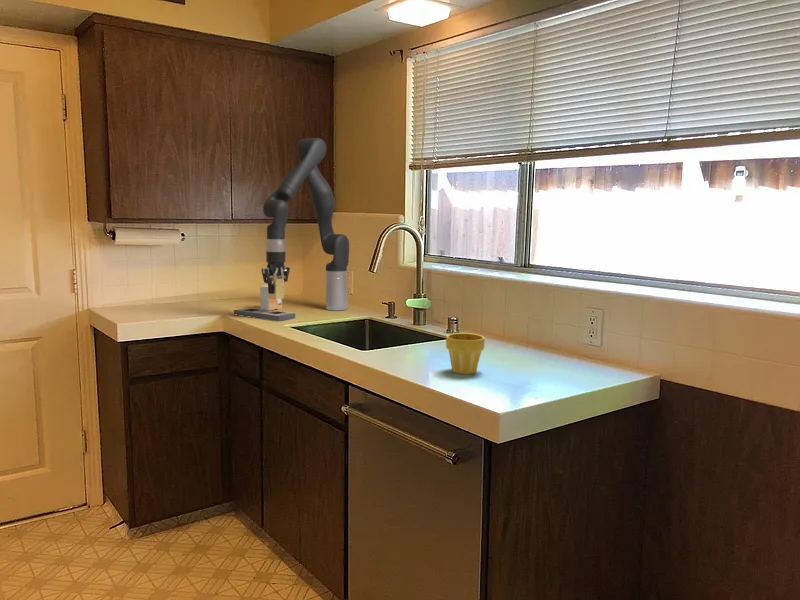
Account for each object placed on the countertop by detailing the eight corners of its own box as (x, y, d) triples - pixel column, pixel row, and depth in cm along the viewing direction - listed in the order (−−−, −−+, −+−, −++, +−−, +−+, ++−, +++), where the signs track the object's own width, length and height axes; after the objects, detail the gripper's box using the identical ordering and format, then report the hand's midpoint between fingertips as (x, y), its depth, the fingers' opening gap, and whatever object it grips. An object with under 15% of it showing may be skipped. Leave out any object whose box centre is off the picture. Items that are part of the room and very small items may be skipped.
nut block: (275, 297, 262) (275, 277, 261) (283, 298, 259) (283, 278, 258) (267, 298, 258) (267, 278, 257) (275, 299, 256) (275, 279, 255)
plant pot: (480, 377, 170) (481, 341, 169) (442, 374, 173) (442, 338, 172) (485, 368, 180) (487, 334, 179) (449, 365, 183) (450, 331, 182)
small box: (268, 311, 279) (268, 286, 277) (260, 309, 282) (259, 285, 281) (282, 309, 285) (282, 285, 284) (274, 307, 289) (273, 284, 287)
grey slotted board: (250, 312, 275) (250, 306, 274) (295, 318, 260) (295, 312, 260) (233, 314, 267) (233, 309, 267) (279, 321, 253) (279, 315, 253)
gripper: (269, 251, 248) (269, 295, 251) (295, 250, 260) (295, 292, 262) (255, 250, 253) (256, 293, 255) (281, 249, 264) (281, 291, 266)
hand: (275, 292), depth 258 cm, fingers closed on nut block, 4 cm apart
